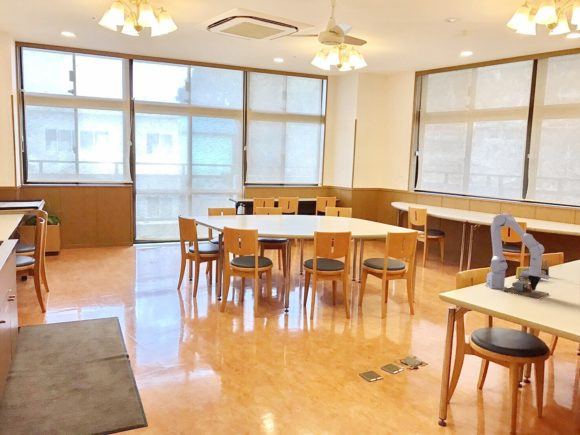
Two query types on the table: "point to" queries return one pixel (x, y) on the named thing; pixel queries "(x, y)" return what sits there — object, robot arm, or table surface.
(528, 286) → the shaft
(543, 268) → the ammunition clip
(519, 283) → the bearing housing
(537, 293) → the base plate
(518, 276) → the candy box
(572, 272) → the table surface
